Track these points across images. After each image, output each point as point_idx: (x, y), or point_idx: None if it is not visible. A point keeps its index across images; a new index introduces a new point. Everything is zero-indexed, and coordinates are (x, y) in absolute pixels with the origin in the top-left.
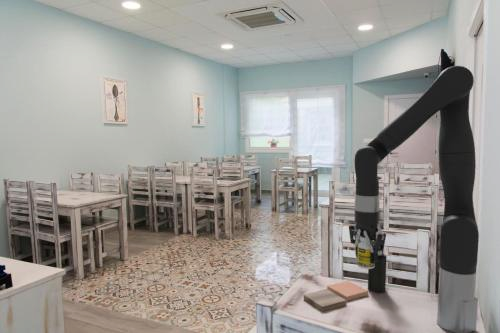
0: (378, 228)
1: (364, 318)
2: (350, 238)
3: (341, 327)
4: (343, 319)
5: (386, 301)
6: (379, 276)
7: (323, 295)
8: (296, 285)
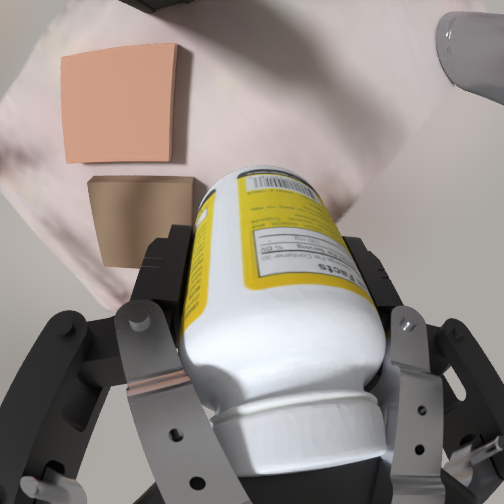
0: None
1: None
2: (70, 401)
3: None
4: None
5: (263, 29)
6: None
7: (127, 224)
8: (29, 223)
